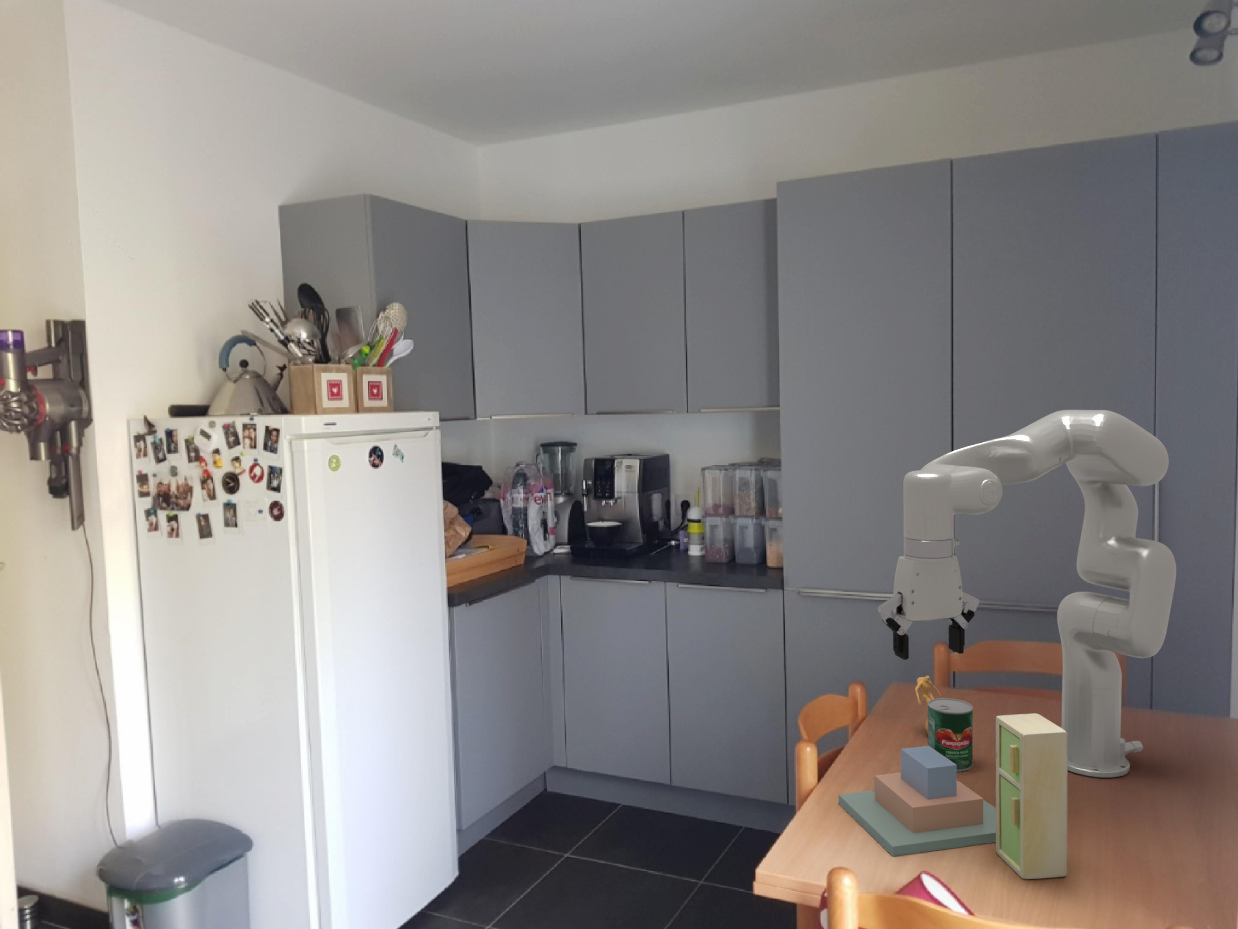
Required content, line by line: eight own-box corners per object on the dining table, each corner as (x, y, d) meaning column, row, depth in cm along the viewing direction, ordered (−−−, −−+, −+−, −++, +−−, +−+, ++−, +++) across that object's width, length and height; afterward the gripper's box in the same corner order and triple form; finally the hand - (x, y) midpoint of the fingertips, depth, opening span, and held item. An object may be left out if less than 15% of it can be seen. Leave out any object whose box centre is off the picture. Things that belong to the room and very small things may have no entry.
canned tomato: (949, 751, 172) (950, 695, 171) (982, 766, 164) (983, 708, 164) (917, 759, 168) (918, 702, 167) (950, 775, 161) (950, 715, 160)
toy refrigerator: (989, 852, 134) (990, 714, 132) (1036, 849, 135) (1038, 712, 133) (1017, 881, 126) (1019, 735, 124) (1067, 877, 127) (1070, 732, 125)
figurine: (935, 745, 175) (935, 684, 174) (906, 737, 179) (906, 678, 178) (955, 733, 180) (955, 675, 180) (927, 726, 185) (927, 668, 184)
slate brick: (928, 775, 148) (928, 745, 148) (956, 796, 141) (956, 765, 140) (900, 778, 147) (900, 749, 147) (927, 799, 139) (927, 768, 139)
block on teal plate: (956, 788, 156) (956, 757, 155) (1024, 838, 138) (1024, 803, 138) (838, 803, 151) (838, 771, 151) (892, 856, 133) (892, 820, 133)
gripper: (963, 541, 148) (963, 643, 149) (866, 548, 144) (868, 653, 146) (991, 548, 141) (991, 655, 142) (891, 556, 137) (891, 666, 138)
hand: (929, 654), depth 144 cm, fingers open, 9 cm apart
